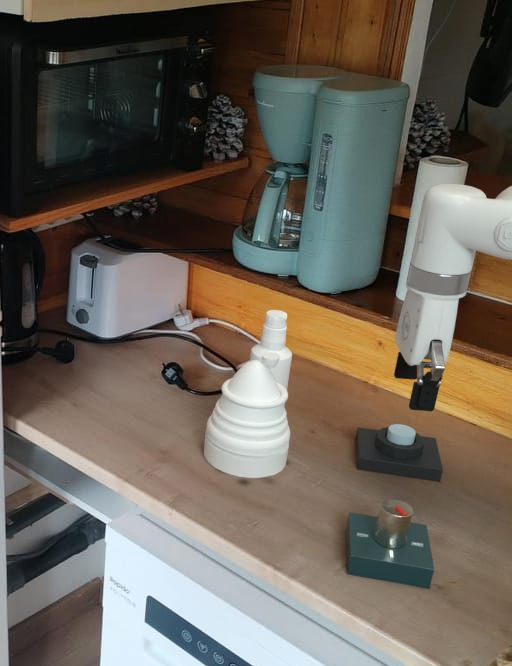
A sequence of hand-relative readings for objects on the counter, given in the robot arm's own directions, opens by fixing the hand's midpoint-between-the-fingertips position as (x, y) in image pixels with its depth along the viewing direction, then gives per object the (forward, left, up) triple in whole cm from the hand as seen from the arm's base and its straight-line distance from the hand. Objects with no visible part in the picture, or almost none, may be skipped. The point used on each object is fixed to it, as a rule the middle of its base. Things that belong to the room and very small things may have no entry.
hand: (412, 393), depth 128 cm
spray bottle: (+20, -21, -17) cm, 33 cm away
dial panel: (+2, +17, -16) cm, 24 cm away
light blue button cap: (-1, -10, -13) cm, 16 cm away
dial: (+2, +17, -13) cm, 22 cm away
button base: (-1, -10, -16) cm, 19 cm away
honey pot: (+22, -4, -17) cm, 28 cm away
